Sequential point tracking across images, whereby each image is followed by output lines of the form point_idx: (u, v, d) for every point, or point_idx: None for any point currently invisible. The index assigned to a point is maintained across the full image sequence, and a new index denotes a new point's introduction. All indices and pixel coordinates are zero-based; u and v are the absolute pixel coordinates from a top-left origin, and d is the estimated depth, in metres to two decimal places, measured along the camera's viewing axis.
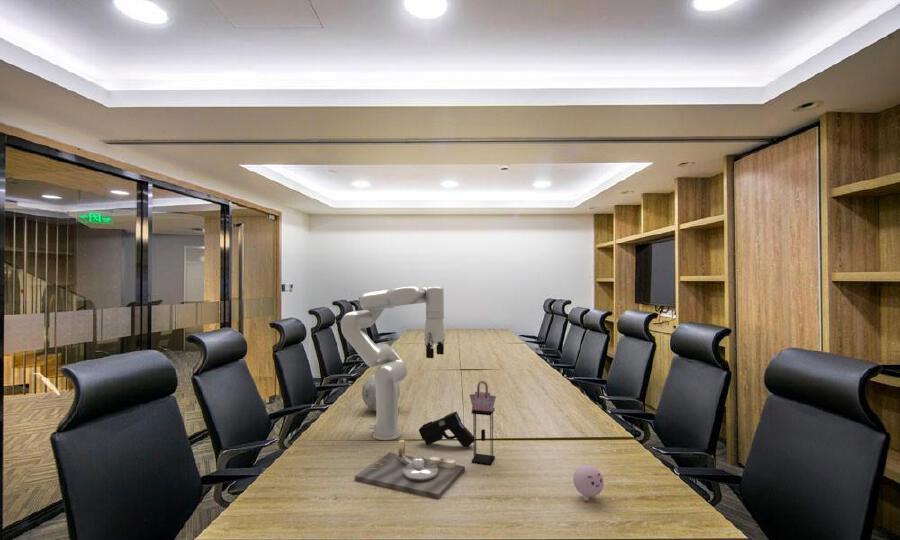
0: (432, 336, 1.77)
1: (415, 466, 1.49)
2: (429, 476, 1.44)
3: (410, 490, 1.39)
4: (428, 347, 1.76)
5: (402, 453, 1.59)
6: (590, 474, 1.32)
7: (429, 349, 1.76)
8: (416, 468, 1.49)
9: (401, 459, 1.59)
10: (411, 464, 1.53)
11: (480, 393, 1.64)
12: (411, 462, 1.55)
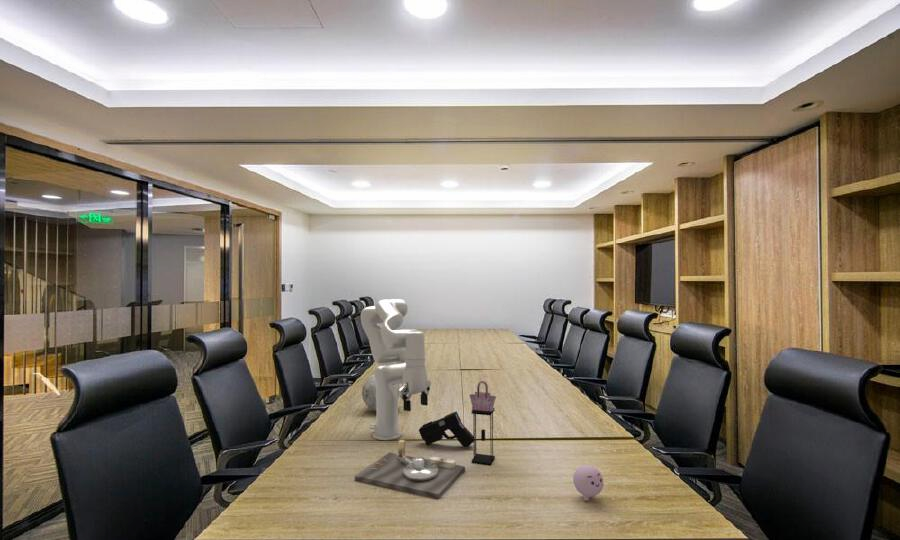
0: (409, 387, 1.62)
1: (415, 466, 1.49)
2: (429, 476, 1.44)
3: (410, 490, 1.39)
4: (404, 399, 1.61)
5: (402, 453, 1.59)
6: (590, 474, 1.32)
7: (405, 401, 1.61)
8: (416, 468, 1.49)
9: (401, 459, 1.59)
10: (411, 464, 1.53)
11: (480, 393, 1.64)
12: (411, 462, 1.55)
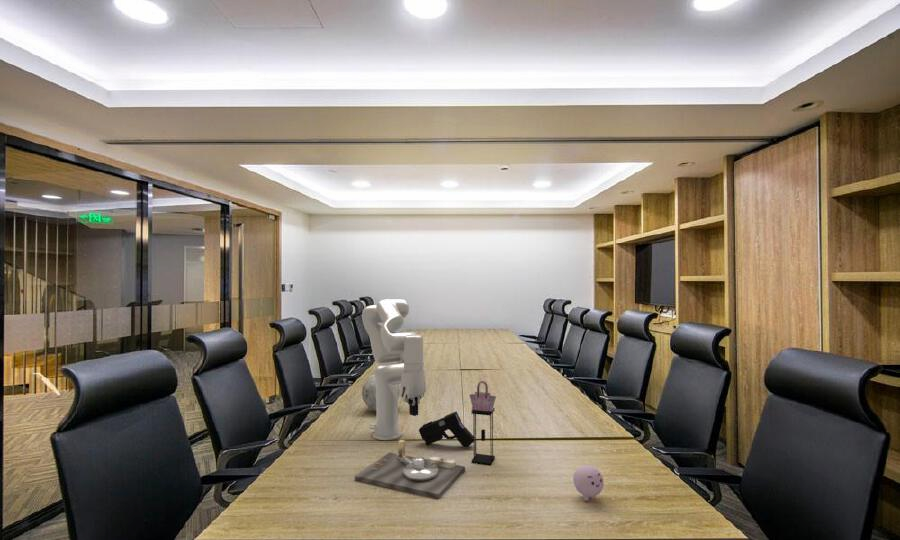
0: (406, 391, 1.61)
1: (415, 466, 1.49)
2: (429, 476, 1.44)
3: (410, 490, 1.39)
4: (410, 404, 1.64)
5: (402, 453, 1.59)
6: (590, 474, 1.32)
7: (411, 406, 1.64)
8: (416, 468, 1.49)
9: (401, 459, 1.59)
10: (411, 464, 1.53)
11: (480, 393, 1.64)
12: (411, 462, 1.55)
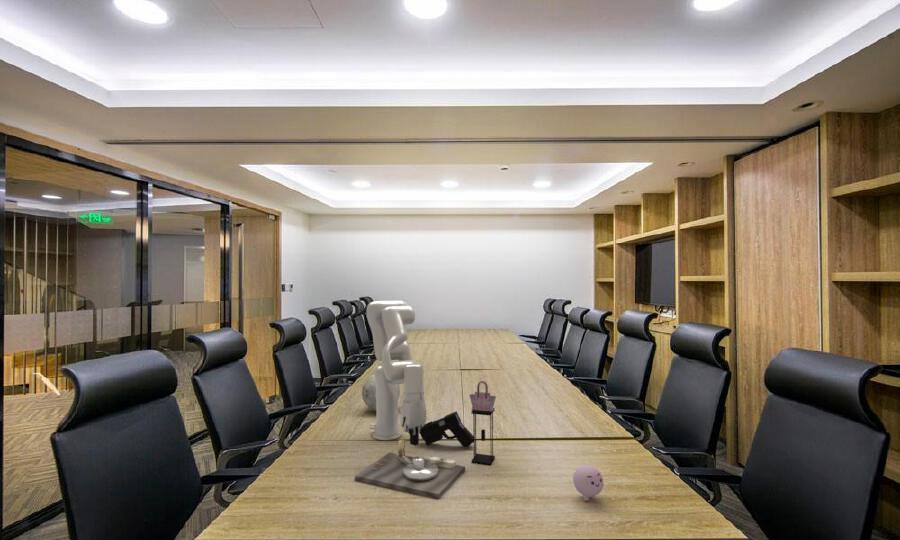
0: (407, 421, 1.61)
1: (415, 466, 1.49)
2: (429, 476, 1.44)
3: (410, 490, 1.39)
4: (410, 433, 1.63)
5: (402, 453, 1.59)
6: (590, 474, 1.32)
7: (412, 436, 1.64)
8: (416, 468, 1.49)
9: (401, 459, 1.59)
10: (411, 464, 1.53)
11: (480, 393, 1.64)
12: (411, 462, 1.55)
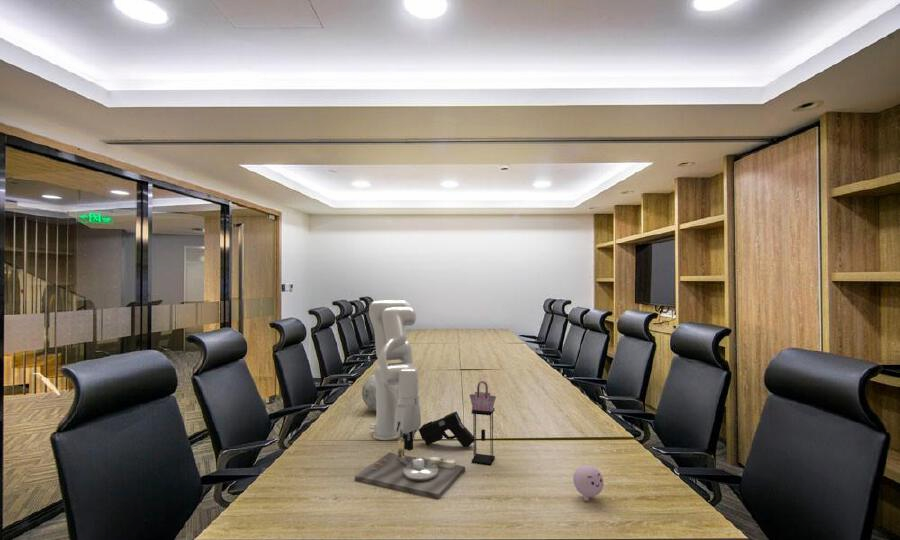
0: (401, 426, 1.59)
1: (415, 466, 1.49)
2: (429, 476, 1.44)
3: (410, 490, 1.39)
4: (405, 438, 1.62)
5: (401, 453, 1.59)
6: (590, 474, 1.32)
7: (406, 440, 1.62)
8: (416, 468, 1.49)
9: (401, 459, 1.59)
10: (411, 464, 1.53)
11: (480, 393, 1.64)
12: (411, 462, 1.54)
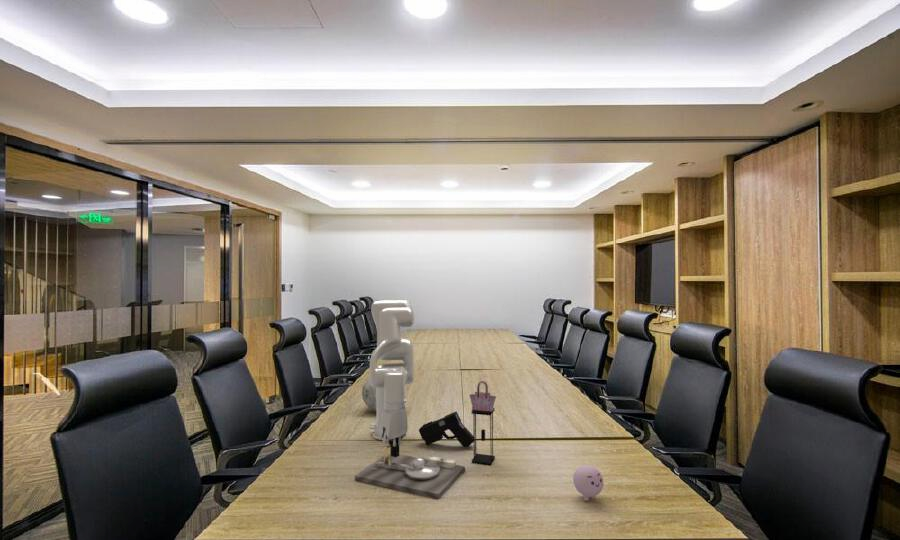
0: (386, 432, 1.53)
1: (418, 466, 1.49)
2: (438, 471, 1.48)
3: (410, 490, 1.39)
4: (390, 445, 1.56)
5: (389, 460, 1.53)
6: (590, 474, 1.32)
7: (392, 447, 1.56)
8: (420, 468, 1.49)
9: (389, 466, 1.53)
10: (408, 467, 1.51)
11: (480, 393, 1.64)
12: (405, 465, 1.52)
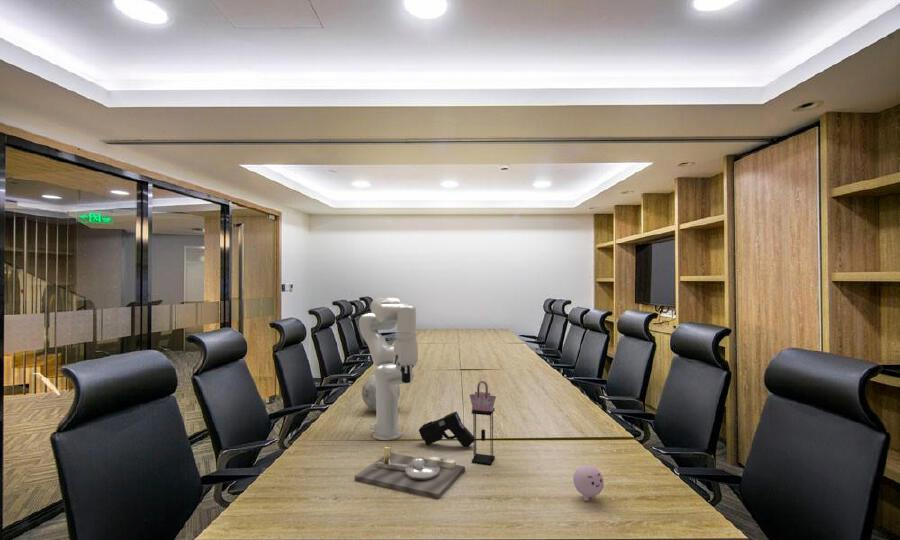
0: (399, 359, 1.67)
1: (418, 466, 1.49)
2: (438, 471, 1.48)
3: (410, 490, 1.39)
4: (402, 371, 1.70)
5: (389, 460, 1.53)
6: (590, 474, 1.32)
7: (403, 374, 1.70)
8: (420, 468, 1.49)
9: (389, 466, 1.53)
10: (408, 467, 1.51)
11: (480, 393, 1.64)
12: (405, 465, 1.52)
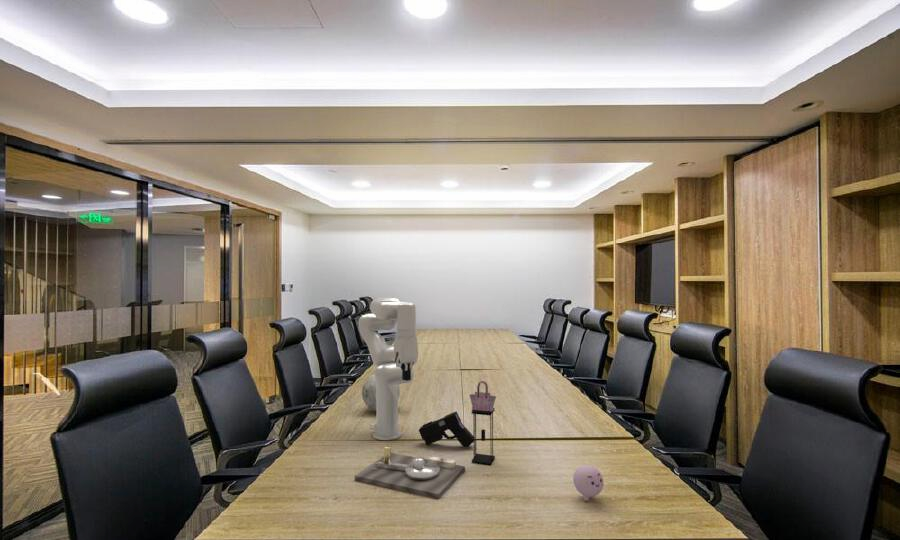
0: (399, 356, 1.67)
1: (418, 466, 1.49)
2: (438, 471, 1.48)
3: (410, 490, 1.39)
4: (403, 369, 1.70)
5: (389, 460, 1.53)
6: (590, 474, 1.32)
7: (404, 371, 1.70)
8: (420, 468, 1.49)
9: (389, 466, 1.53)
10: (408, 467, 1.51)
11: (480, 393, 1.64)
12: (405, 465, 1.52)
